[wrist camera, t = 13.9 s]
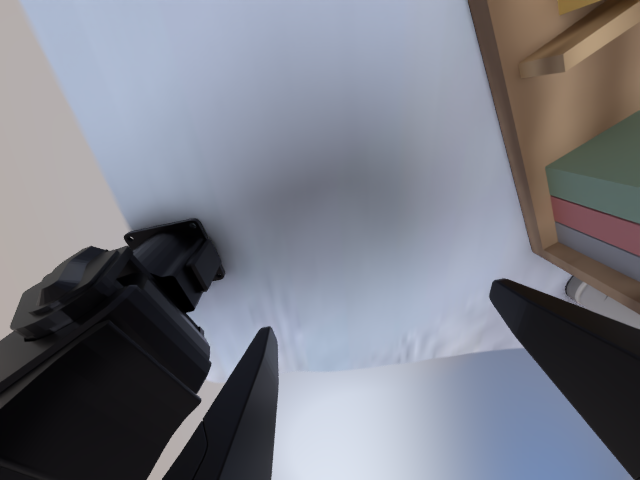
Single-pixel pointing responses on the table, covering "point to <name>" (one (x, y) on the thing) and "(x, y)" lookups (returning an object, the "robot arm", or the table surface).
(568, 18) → the shelf slot board
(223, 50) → the table surface
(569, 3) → the pale yellow cuboid
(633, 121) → the book row
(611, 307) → the travel mug
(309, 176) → the table surface
